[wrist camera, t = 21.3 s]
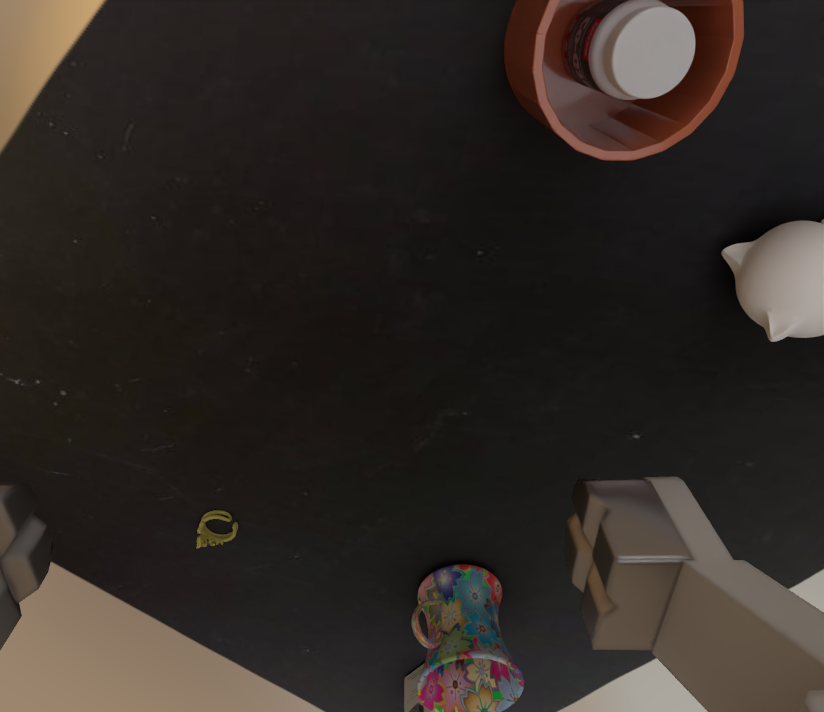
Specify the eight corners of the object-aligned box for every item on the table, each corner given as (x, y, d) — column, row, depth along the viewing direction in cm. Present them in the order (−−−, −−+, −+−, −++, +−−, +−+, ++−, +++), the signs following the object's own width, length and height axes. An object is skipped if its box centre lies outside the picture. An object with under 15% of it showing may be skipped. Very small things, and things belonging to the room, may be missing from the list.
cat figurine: (1007, 265, 34) (795, 320, 35) (907, 348, 44) (742, 390, 45) (917, 157, 38) (729, 209, 39) (844, 254, 48) (693, 294, 49)
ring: (199, 510, 56) (182, 536, 54) (224, 505, 54) (207, 532, 52) (222, 533, 57) (206, 560, 55) (246, 529, 56) (231, 556, 54)
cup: (512, -57, 34) (547, -77, 26) (686, -53, 34) (772, -71, 26) (497, 129, 39) (522, 159, 31) (649, 131, 39) (712, 161, 31)
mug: (522, 588, 61) (545, 690, 52) (452, 628, 64) (462, 731, 55) (448, 525, 57) (459, 625, 47) (376, 571, 59) (372, 674, 50)
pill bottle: (556, 11, 35) (598, 12, 28) (637, -12, 34) (702, -18, 27) (566, 96, 37) (607, 118, 30) (642, 76, 37) (703, 92, 30)
